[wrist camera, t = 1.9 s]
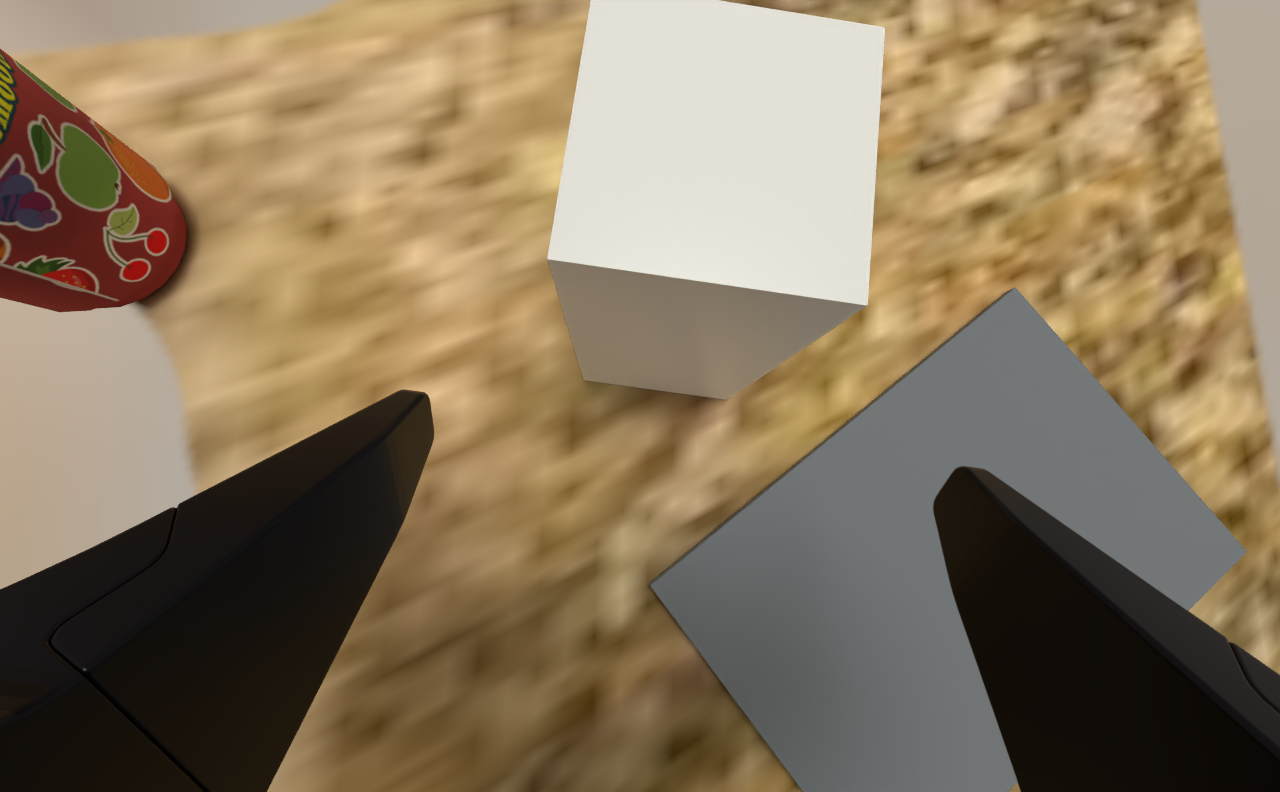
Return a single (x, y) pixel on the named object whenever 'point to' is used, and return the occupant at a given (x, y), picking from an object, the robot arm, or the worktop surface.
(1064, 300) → the worktop surface
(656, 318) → the white rectangular block
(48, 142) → the smoothie
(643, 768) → the worktop surface
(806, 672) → the mat
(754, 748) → the worktop surface
